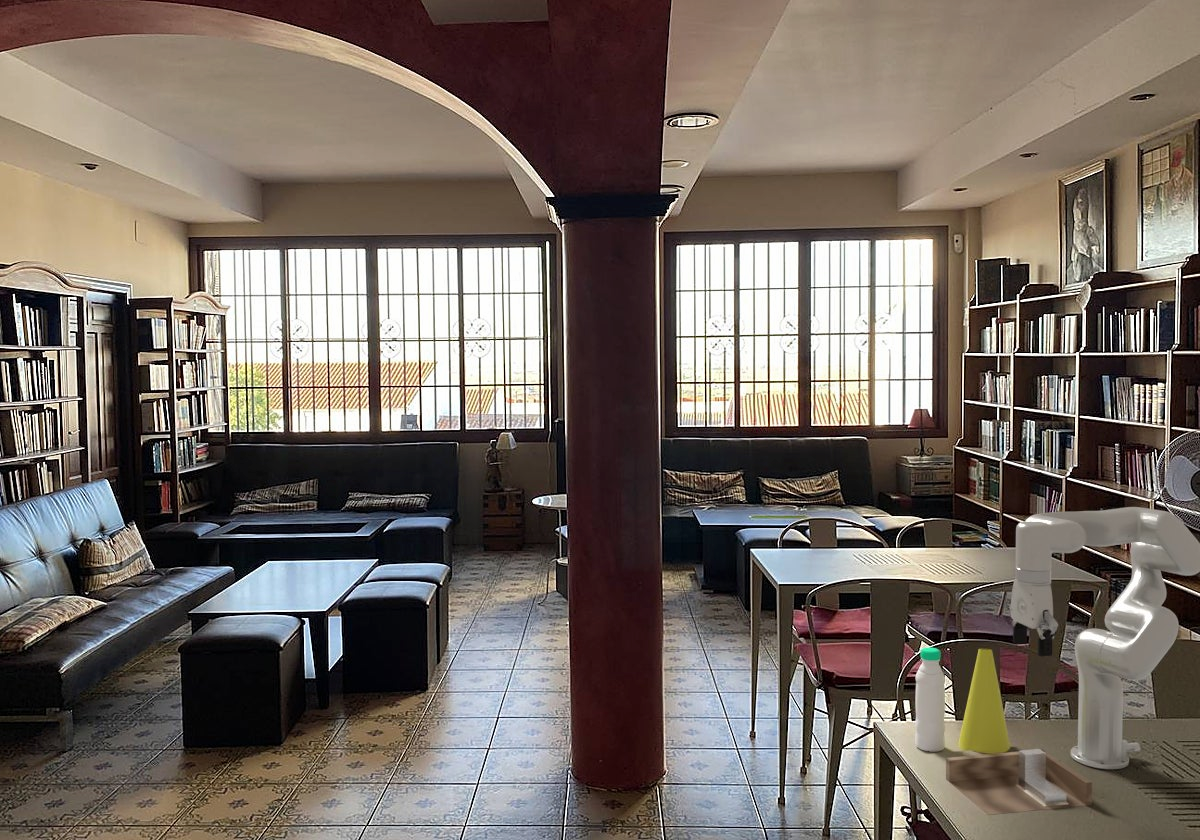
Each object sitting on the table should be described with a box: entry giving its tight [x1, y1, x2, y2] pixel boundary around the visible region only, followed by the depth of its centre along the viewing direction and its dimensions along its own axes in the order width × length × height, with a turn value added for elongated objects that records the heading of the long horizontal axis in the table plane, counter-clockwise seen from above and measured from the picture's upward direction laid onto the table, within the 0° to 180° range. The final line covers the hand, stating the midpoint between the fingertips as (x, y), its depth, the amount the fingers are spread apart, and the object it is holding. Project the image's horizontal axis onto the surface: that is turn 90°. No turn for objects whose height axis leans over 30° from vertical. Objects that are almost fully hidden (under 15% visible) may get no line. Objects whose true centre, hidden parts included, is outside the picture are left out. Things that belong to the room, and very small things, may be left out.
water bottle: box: [914, 646, 946, 753], centre depth 249 cm, size 7×7×25 cm
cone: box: [957, 648, 1011, 754], centre depth 248 cm, size 12×12×25 cm
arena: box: [945, 749, 1093, 816], centre depth 222 cm, size 24×18×6 cm
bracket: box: [1018, 748, 1067, 805], centre depth 220 cm, size 10×5×8 cm, turn 10°
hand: (1032, 649), depth 229 cm, fingers open, 9 cm apart
